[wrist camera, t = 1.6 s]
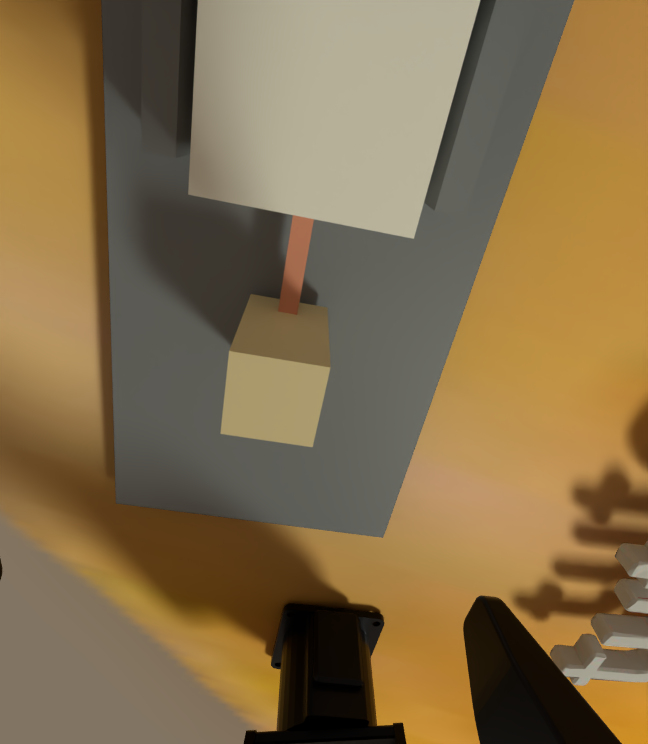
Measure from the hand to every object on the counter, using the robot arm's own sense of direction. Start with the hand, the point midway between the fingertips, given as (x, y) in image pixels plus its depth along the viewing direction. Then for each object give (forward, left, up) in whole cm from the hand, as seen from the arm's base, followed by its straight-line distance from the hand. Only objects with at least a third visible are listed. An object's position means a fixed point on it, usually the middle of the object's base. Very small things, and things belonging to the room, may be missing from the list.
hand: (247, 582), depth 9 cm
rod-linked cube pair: (+5, 0, -12) cm, 13 cm away
